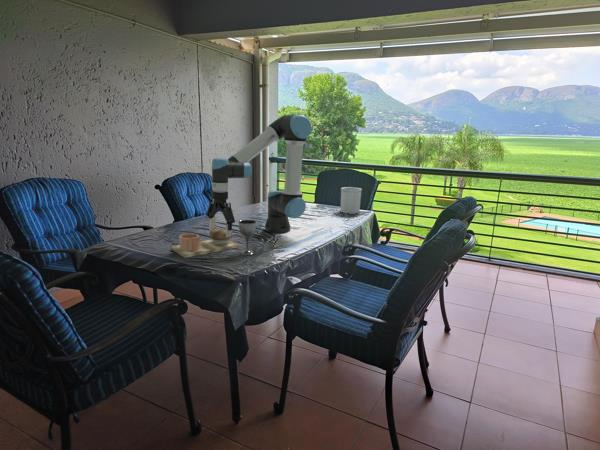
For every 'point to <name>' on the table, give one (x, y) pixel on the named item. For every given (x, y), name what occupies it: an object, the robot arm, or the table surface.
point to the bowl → (189, 242)
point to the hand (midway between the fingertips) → (220, 233)
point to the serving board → (205, 248)
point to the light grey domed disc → (221, 242)
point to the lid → (219, 234)
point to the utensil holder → (350, 200)
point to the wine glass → (247, 233)
